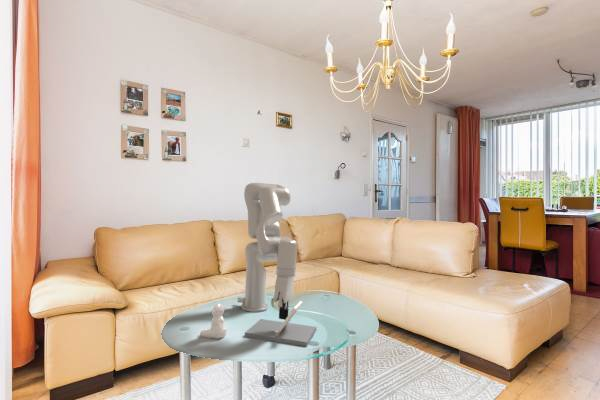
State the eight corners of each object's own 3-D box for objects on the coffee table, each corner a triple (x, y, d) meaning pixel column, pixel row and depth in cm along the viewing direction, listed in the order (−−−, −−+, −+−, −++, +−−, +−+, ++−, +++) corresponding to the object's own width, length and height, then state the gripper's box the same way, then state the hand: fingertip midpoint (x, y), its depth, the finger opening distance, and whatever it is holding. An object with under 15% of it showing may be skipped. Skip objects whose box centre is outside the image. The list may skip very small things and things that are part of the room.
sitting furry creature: (220, 329, 129) (221, 298, 129) (234, 335, 124) (235, 303, 124) (199, 335, 122) (200, 303, 122) (212, 342, 116) (214, 308, 117)
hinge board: (244, 336, 123) (245, 328, 123) (260, 322, 138) (261, 315, 139) (306, 346, 117) (307, 338, 117) (316, 330, 132) (316, 323, 132)
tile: (293, 307, 122) (295, 309, 121) (300, 300, 131) (302, 302, 131) (277, 330, 123) (279, 332, 123) (285, 322, 133) (287, 323, 132)
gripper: (283, 266, 136) (281, 311, 136) (269, 274, 122) (266, 323, 122) (300, 269, 134) (298, 314, 134) (288, 276, 119) (286, 327, 119)
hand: (283, 318), depth 128 cm, fingers closed
